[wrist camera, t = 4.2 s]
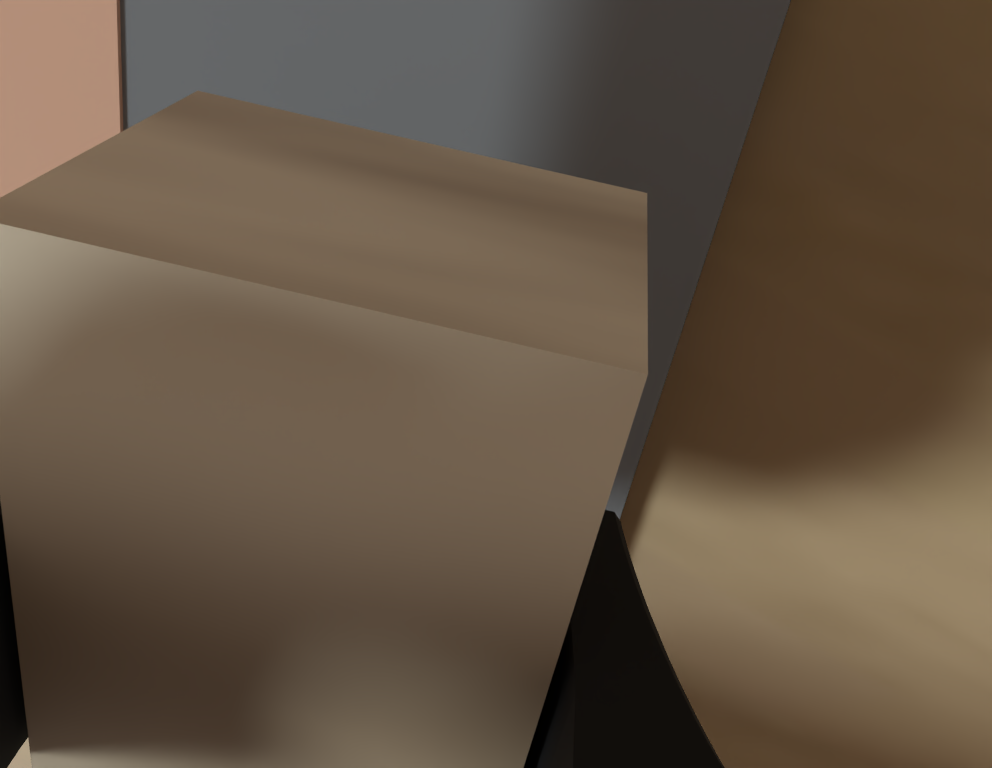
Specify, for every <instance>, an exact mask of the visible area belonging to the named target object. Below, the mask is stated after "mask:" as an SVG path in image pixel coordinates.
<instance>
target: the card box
mask: <svg viewBox="0 0 992 768" xmlns="http://www.w3.org/2000/svg"><path fill="white" fill-rule="evenodd" d="M647 376H648V264H647V193H645V192H640V191H636V190H631V189H627V188H623V187H618V186H614V185H610V184H605V183H601V182H596V181H592V180H588V179H583V178H579V177H574V176H570V175H566V174H561V173H557V172H552V171H548V170H544V169H539V168H535V167H531V166H526V165H522V164H517V163H513V162H509V161H504V160H500V159H495V158H491V157H487V156H482V155H478V154H473V153H469V152H465V151H460V150H456V149H452V148H447V147H443V146H438V145H434V144H430V143H425V142H421V141H416V140H412V139H408V138H403V137H399V136H394V135H390V134H386V133H381V132H377V131H373V130H368V129H364V128H359V127H355V126H351V125H346V124H342V123H337V122H333V121H329V120H324V119H320V118H315V117H311V116H307V115H302V114H298V113H294V112H289V111H285V110H280V109H276V108H272V107H267V106H263V105H258V104H254V103H250V102H245V101H241V100H236V99H232V98H228V97H223V96H219V95H215V94H210V93H206V92H201V91H196V92H194V93H192V94H190V95H189V96H187V97H185V98H183V99H181V100H179V101H178V102H176V103H174V104H172V105H170V106H168V107H167V108H165V109H163V110H161V111H159V112H157V113H155V114H154V115H152V116H150V117H148V118H146V119H144V120H143V121H141V122H139V123H137V124H135V125H133V126H131V127H130V128H128V129H126V130H124V131H122V132H120V133H119V134H117V135H115V136H113V137H111V138H109V139H108V140H106V141H104V142H102V143H100V144H98V145H96V146H95V147H93V148H91V149H89V150H87V151H85V152H84V153H82V154H80V155H78V156H76V157H74V158H72V159H71V160H69V161H67V162H65V163H63V164H61V165H60V166H58V167H56V168H54V169H52V170H50V171H49V172H47V173H45V174H43V175H41V176H39V177H37V178H36V179H34V180H32V181H30V182H28V183H26V184H25V185H23V186H21V187H19V188H17V189H15V190H13V191H12V192H10V193H8V194H6V195H4V196H2V197H1V198H0V501H1V509H2V518H3V526H4V535H5V543H6V552H7V560H8V569H9V577H10V586H11V594H12V603H13V611H14V619H15V628H16V636H17V645H18V653H19V662H20V670H21V679H22V687H23V696H24V704H25V713H26V721H27V729H28V738H29V746H30V755H31V763H32V768H524V764H525V761H526V758H527V755H528V752H529V749H530V745H531V742H532V739H533V736H534V733H535V730H536V727H537V723H538V720H539V717H540V714H541V711H542V708H543V704H544V701H545V698H546V695H547V692H548V689H549V685H550V682H551V679H552V676H553V673H554V670H555V666H556V663H557V660H558V657H559V654H560V651H561V648H562V644H563V641H564V638H565V635H566V632H567V629H568V625H569V622H570V619H571V616H572V613H573V610H574V606H575V603H576V600H577V597H578V594H579V591H580V588H581V584H582V581H583V578H584V575H585V572H586V569H587V565H588V562H589V559H590V556H591V553H592V550H593V546H594V543H595V540H596V537H597V534H598V531H599V527H600V524H601V521H602V518H603V515H604V512H605V509H606V505H607V502H608V499H609V496H610V493H611V490H612V486H613V483H614V480H615V477H616V474H617V471H618V467H619V464H620V461H621V458H622V455H623V452H624V449H625V445H626V442H627V439H628V436H629V433H630V430H631V426H632V423H633V420H634V417H635V414H636V411H637V407H638V404H639V401H640V398H641V395H642V392H643V388H644V385H645V382H646V379H647Z"/></svg>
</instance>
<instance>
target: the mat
mask: <svg viewBox="0 0 992 768" xmlns="http://www.w3.org/2000/svg"><path fill="white" fill-rule="evenodd" d="M790 2H791V0H0V198H1V197H2V196H4V195H6V194H8V193H10V192H12V191H13V190H15V189H17V188H19V187H21V186H23V185H25V184H26V183H28V182H30V181H32V180H34V179H36V178H37V177H39V176H41V175H43V174H45V173H47V172H49V171H50V170H52V169H54V168H56V167H58V166H60V165H61V164H63V163H65V162H67V161H69V160H71V159H72V158H74V157H76V156H78V155H80V154H82V153H84V152H85V151H87V150H89V149H91V148H93V147H95V146H96V145H98V144H100V143H102V142H104V141H106V140H108V139H109V138H111V137H113V136H115V135H117V134H119V133H120V132H122V131H124V130H126V129H128V128H130V127H131V126H133V125H135V124H137V123H139V122H141V121H143V120H144V119H146V118H148V117H150V116H152V115H154V114H155V113H157V112H159V111H161V110H163V109H165V108H167V107H168V106H170V105H172V104H174V103H176V102H178V101H179V100H181V99H183V98H185V97H187V96H189V95H190V94H192V93H194V92H196V91H201V92H206V93H210V94H215V95H219V96H223V97H228V98H232V99H236V100H241V101H245V102H250V103H254V104H258V105H263V106H267V107H272V108H276V109H280V110H285V111H289V112H294V113H298V114H302V115H307V116H311V117H315V118H320V119H324V120H329V121H333V122H337V123H342V124H346V125H351V126H355V127H359V128H364V129H368V130H373V131H377V132H381V133H386V134H390V135H394V136H399V137H403V138H408V139H412V140H416V141H421V142H425V143H430V144H434V145H438V146H443V147H447V148H452V149H456V150H460V151H465V152H469V153H473V154H478V155H482V156H487V157H491V158H495V159H500V160H504V161H509V162H513V163H517V164H522V165H526V166H531V167H535V168H539V169H544V170H548V171H552V172H557V173H561V174H566V175H570V176H574V177H579V178H583V179H588V180H592V181H596V182H601V183H605V184H610V185H614V186H618V187H623V188H627V189H631V190H636V191H640V192H645V193H647V264H648V376H647V379H646V382H645V385H644V388H643V392H642V395H641V398H640V401H639V404H638V407H637V411H636V414H635V417H634V420H633V423H632V426H631V430H630V433H629V436H628V439H627V442H626V445H625V449H624V452H623V455H622V458H621V461H620V464H619V467H618V471H617V474H616V477H615V480H614V483H613V486H612V490H611V493H610V496H609V499H608V502H607V505H606V509H605V510H609V511H613V512H615V514H616V515H617V517H618V518H619V520H620V517H621V514H622V511H623V508H624V505H625V502H626V498H627V495H628V492H629V489H630V486H631V483H632V480H633V477H634V474H635V471H636V468H637V465H638V462H639V459H640V456H641V453H642V450H643V447H644V444H645V441H646V438H647V435H648V432H649V429H650V426H651V423H652V420H653V417H654V414H655V411H656V408H657V405H658V402H659V398H660V395H661V392H662V389H663V386H664V383H665V380H666V377H667V374H668V371H669V368H670V365H671V362H672V359H673V356H674V353H675V350H676V347H677V344H678V341H679V338H680V335H681V332H682V329H683V326H684V323H685V320H686V317H687V314H688V311H689V308H690V305H691V302H692V298H693V295H694V292H695V289H696V286H697V283H698V280H699V277H700V274H701V271H702V268H703V265H704V262H705V259H706V256H707V253H708V250H709V247H710V244H711V241H712V238H713V235H714V232H715V229H716V226H717V223H718V220H719V217H720V214H721V211H722V208H723V205H724V202H725V198H726V195H727V192H728V189H729V186H730V183H731V180H732V177H733V174H734V171H735V168H736V165H737V162H738V159H739V156H740V153H741V150H742V147H743V144H744V141H745V138H746V135H747V132H748V129H749V126H750V123H751V120H752V117H753V114H754V111H755V108H756V105H757V102H758V98H759V95H760V92H761V89H762V86H763V83H764V80H765V77H766V74H767V71H768V68H769V65H770V62H771V59H772V56H773V53H774V50H775V47H776V44H777V41H778V38H779V35H780V32H781V29H782V26H783V23H784V20H785V17H786V14H787V11H788V8H789V5H790Z"/></svg>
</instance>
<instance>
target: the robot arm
mask: <svg viewBox="0 0 992 768" xmlns="http://www.w3.org/2000/svg"><path fill="white" fill-rule="evenodd" d="M27 738H28V729H27V721H26V713H25V704H24V696H23V687H22V679H21V670H20V662H19V653H18V645H17V636H16V628H15V619H14V611H13V603H12V594H11V586H10V577H9V569H8V560H7V552H6V543H5V535H4V526H3V518H2V509H1V501H0V768H7V767H8V765H9V764H10V762H11V761H12V759H13V758H14V756H15V755H16V753H17V752H18V750H19V749H20V747H21V746H22V745H23V743H24V742H25V741H26V739H27ZM524 768H724V766H723V764H722V763H721V761H720V759H719V758H718V756H717V754H716V752H715V750H714V749H713V747H712V745H711V743H710V741H709V739H708V738H707V736H706V734H705V732H704V730H703V728H702V726H701V724H700V722H699V721H698V719H697V717H696V715H695V713H694V711H693V709H692V707H691V705H690V702H689V700H688V698H687V696H686V694H685V692H684V690H683V688H682V686H681V684H680V682H679V680H678V678H677V676H676V673H675V671H674V669H673V667H672V664H671V662H670V660H669V658H668V656H667V653H666V651H665V648H664V646H663V644H662V641H661V639H660V636H659V634H658V631H657V629H656V627H655V624H654V622H653V619H652V617H651V614H650V612H649V609H648V607H647V604H646V601H645V599H644V596H643V593H642V590H641V588H640V585H639V582H638V579H637V576H636V573H635V570H634V567H633V564H632V561H631V558H630V555H629V551H628V548H627V544H626V541H625V537H624V534H623V530H622V525H621V521H620V520H619V518H618V517H617V515H616V514H615V512H613V511H609V510H605V512H604V515H603V518H602V521H601V524H600V527H599V531H598V534H597V537H596V540H595V543H594V546H593V550H592V553H591V556H590V559H589V562H588V565H587V569H586V572H585V575H584V578H583V581H582V584H581V588H580V591H579V594H578V597H577V600H576V603H575V606H574V610H573V613H572V616H571V619H570V622H569V625H568V629H567V632H566V635H565V638H564V641H563V644H562V648H561V651H560V654H559V657H558V660H557V663H556V666H555V670H554V673H553V676H552V679H551V682H550V685H549V689H548V692H547V695H546V698H545V701H544V704H543V708H542V711H541V714H540V717H539V720H538V723H537V727H536V730H535V733H534V736H533V739H532V742H531V745H530V749H529V752H528V755H527V758H526V761H525V764H524Z"/></svg>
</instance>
